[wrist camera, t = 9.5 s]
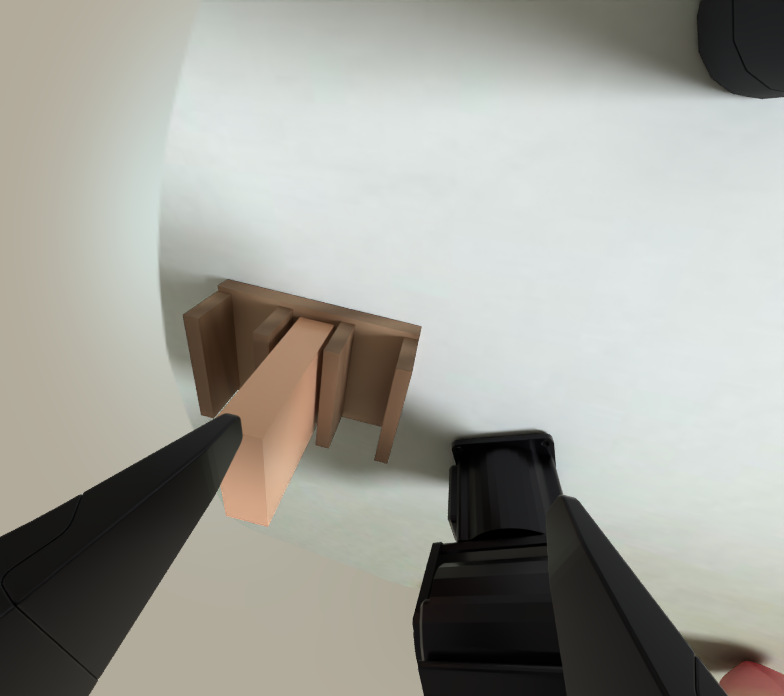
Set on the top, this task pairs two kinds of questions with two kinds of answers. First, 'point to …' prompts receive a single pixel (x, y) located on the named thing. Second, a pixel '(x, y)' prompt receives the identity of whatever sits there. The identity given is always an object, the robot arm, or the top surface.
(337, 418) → the rack
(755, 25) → the wine bottle
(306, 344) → the block
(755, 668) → the decorative fruit
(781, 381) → the top surface
